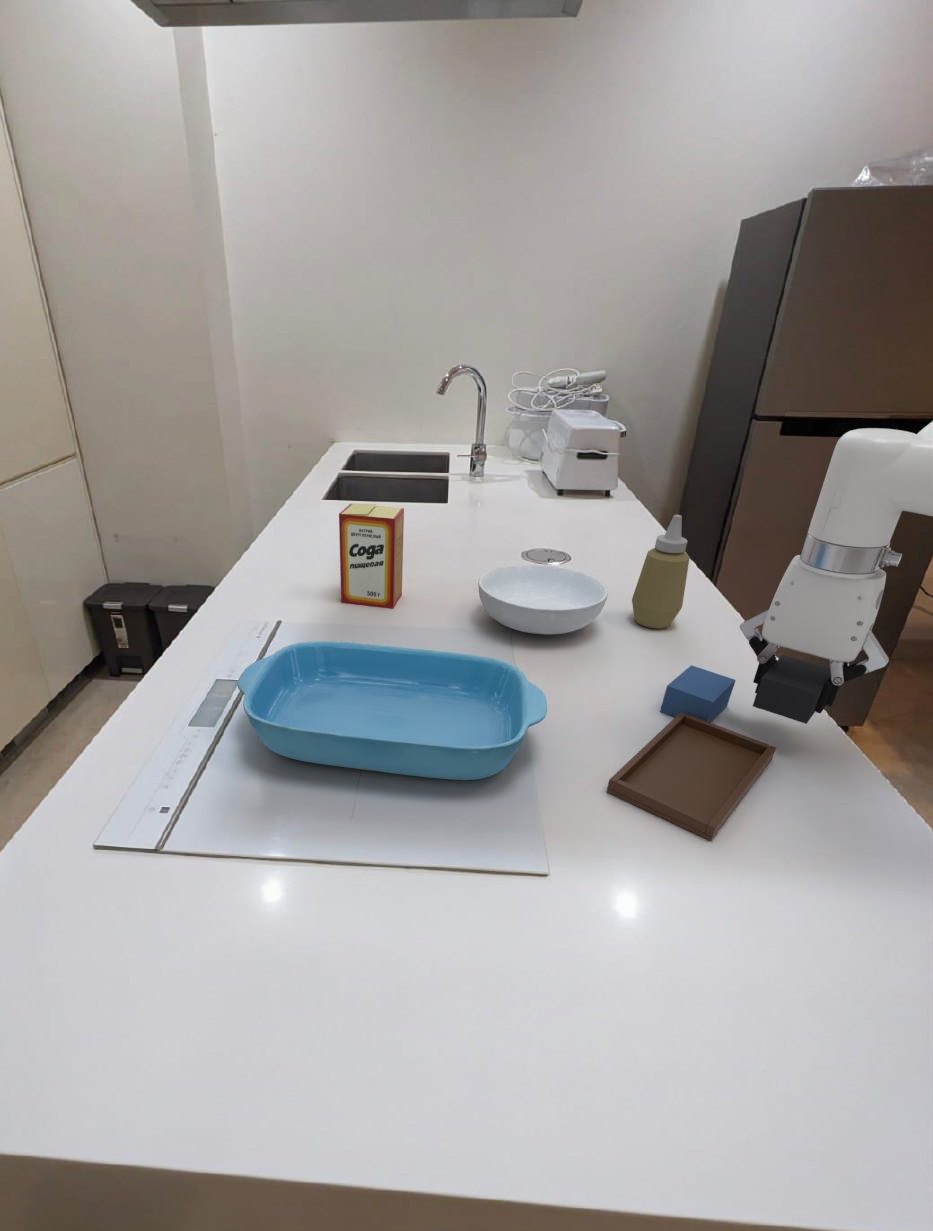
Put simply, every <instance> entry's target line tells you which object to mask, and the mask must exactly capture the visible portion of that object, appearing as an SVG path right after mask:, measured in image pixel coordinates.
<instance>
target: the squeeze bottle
mask: <svg viewBox="0 0 933 1231" xmlns="http://www.w3.org/2000/svg"><path fill="white" fill-rule="evenodd" d="M682 517H683V516H682V515H681V514H674V515H673V517H672V519H671V520H670V523H669V525H668V527H667V529H666V531H665V533H664V534H661V535H658V536H656V540H655V544H654V547H653V548H651V549H649V550H648V551H647V553H646V556H645V558H644V562H643V565H642V568H641V571H640V574H639V577H638V580H637V583H636V585H635V588H634V591H633V595H632V598H631V604H632V613H633V619H634V621H635V623H637V624H639V625H640V626H643V627H646V628H649V629H650V628H651V629H666V628H668V627H670V626H671V625H672V624H673V622H674V621H675V619H676V618H677V616H678V614H679V613H680V611H681V610H682V609H683V604H684V597H685V591H686V584H687V578H688V571H689V564H690V556H689V555H688V553H687V552H686V548H687V545H688V540H687V538H686V537H683V536H682V529H683V528H682V525H683V522H682V521H683V518H682Z"/></svg>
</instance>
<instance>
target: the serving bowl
mask: <svg viewBox="0 0 933 1231" xmlns="http://www.w3.org/2000/svg"><path fill="white" fill-rule="evenodd" d="M477 585H478V595H479V599H480V602H481V605H482V607H483V608H484V610H485V612H486V613H487V614H488V615H489V616H490V617H491V618H492V619H494V620H495V621H497V622H498V623H499V624H501V625H502V626H505V627H507V628H509V629H512V630H514V631H519V632H523V633H528V634H535V635H561V634H566V633H567V634H568V633H572V632H575V631H577V630H580V629H582V628H585V627H587V626H588V625H590V624H591V623H593V621H594V620H595V619H596V618H598V616H599V614H601V612H602V610H603V608H604V607H605V605H606V603H607V599H608V597H609V590H608V587H607V586H606V585H605V583H603V581H601V580H599V579H598V578H596V577H595V576H592V575H590V574H588V573H585V572H582V571H579V570H575V569H572V568H568V567H562V566H557V565H551V564H550V565H548V564H539V563H538V564H536V563H534V564H533V563H519V564H518V563H517V564H516V563H515V564H508V565H501V566H498V567H494V568H491V569H488V570H486V571H485V572H483V573H482V574H481V575H480V577H479V578H478V583H477Z"/></svg>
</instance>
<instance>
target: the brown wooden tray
mask: <svg viewBox="0 0 933 1231" xmlns="http://www.w3.org/2000/svg"><path fill="white" fill-rule="evenodd" d="M776 751H777V746H774V745H771V744H769V743H766V742H763V741H760V740H759V739H755V738H752V737H750V736H747V735H745V734H742V733H739V732H737V731H733V730H732V729H728V728H726V727H724V726H720V725H718V724H715V723H712V722H711V723H710V722H707V721H705V720H702V719H699V718H697V717H694V716H691V715H689V714H686V713H683V712H680V713H679V714H678V715H677V716H676V717H673V719H672V720H671V721H670V722H669V723H668V724H667V725H665V726H664V727H663V728H662V729H661V730H660V731H659V732H658V733H657V734H656V735H655V736H654V737H652V739H651V740H650V741H648V743H646V744H645V745H644V746H643V747H642V748H641V749H640V750H639V751H638V752H637V753H636V754H635V755H634V756H633V757H632V758H631V759H629V761H627V762H626V763H625V764H624V765H623V766H622V767H621V768H619V770H617V771H616V773H614V775H612V776H611V777H610V778H609V781H608V784H607V788H606V793H608V794H610V795H612V796H614V797H616V798H619V799H620V800H623V801H624V802H627V803H629V804H631V805H633V806H636V807H637V808H639V809H641V810H644V811H646V812H648V813H651V814H652V815H655V816H657V817H659V818H661V819H663V820H665V821H666V822H669V823H671V824H674V825H676V826H678V827H680V828H681V829H683V830H686V831H688V832H690V833H693V835H694V834H695V835H697V836H699V837H701V838H703V839H704V840H707V841H710V842H712V840H714V838H715V837H716V835H717V834H718V832H719V831H720V830H721V828H722V827H723V826H724V824H725V823H726V822H727V820H728V819H729V818H730V816H731V815H732V814H733V812H734V811H735V809H736V808H737V807H738V806H739V804H740V803H741V802H742V800H743V799H744V798H745V796H746V795H747V794H748V793H749V791H750V790H751V788H752V787H753V786H754V784H755V783H756V782H757V780H758V779H759V777H760V776H761V775H762V773H763V772H764V771H765V769H767V767H768V766H769V764H770V763H771V761H773V758H774V755H775V753H776Z"/></svg>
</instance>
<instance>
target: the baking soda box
mask: <svg viewBox="0 0 933 1231" xmlns="http://www.w3.org/2000/svg"><path fill="white" fill-rule="evenodd" d="M404 524H405V508H404V507H394V506H383V505H377V503H376V504H375V503H350V504H348V505H347V506H346V507H345V508H344V509H342V511H340V512H339V513H338V525H339V526H338V528H339V529H338V530H339V531H338V532H339V534H338V535H339V568H340V570H339V572H340V603H341V604H349V605H358V606H367V607H376V608H385V609H394V608H395V607H396V605H397V603H398V602H399V601H400V599H401V597H402V595H403V566H404V564H403V561H404Z"/></svg>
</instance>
